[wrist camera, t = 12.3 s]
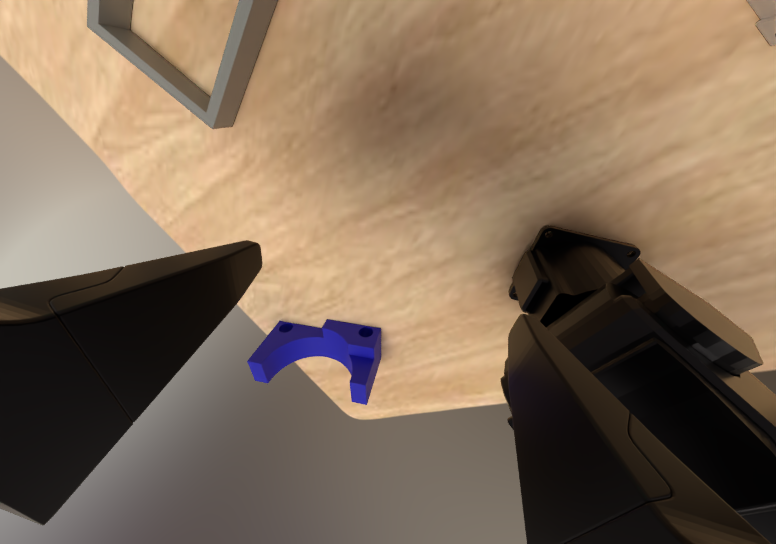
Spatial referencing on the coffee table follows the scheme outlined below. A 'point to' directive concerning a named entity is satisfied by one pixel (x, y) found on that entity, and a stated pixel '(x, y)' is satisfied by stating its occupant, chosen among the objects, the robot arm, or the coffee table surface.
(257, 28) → the frame
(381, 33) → the coffee table surface
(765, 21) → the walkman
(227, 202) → the coffee table surface
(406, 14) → the coffee table surface
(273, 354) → the cable clip
